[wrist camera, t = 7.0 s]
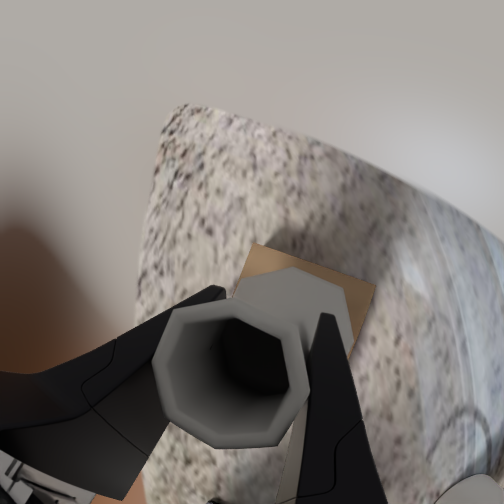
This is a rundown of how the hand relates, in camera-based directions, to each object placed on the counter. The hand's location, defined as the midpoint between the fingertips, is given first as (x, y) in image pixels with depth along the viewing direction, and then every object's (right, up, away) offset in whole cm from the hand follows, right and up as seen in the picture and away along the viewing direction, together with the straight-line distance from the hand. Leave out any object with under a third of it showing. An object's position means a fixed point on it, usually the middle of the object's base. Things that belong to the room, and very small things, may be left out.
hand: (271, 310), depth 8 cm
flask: (+1, -3, +6) cm, 7 cm away
